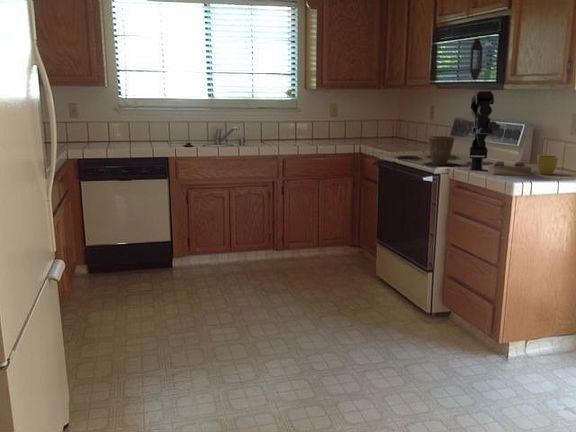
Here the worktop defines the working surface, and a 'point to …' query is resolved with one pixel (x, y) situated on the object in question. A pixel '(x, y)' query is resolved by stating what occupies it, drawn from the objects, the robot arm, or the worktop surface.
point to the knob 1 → (499, 163)
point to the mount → (509, 170)
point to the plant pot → (440, 149)
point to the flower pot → (547, 164)
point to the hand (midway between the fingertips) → (480, 147)
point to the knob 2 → (520, 163)
